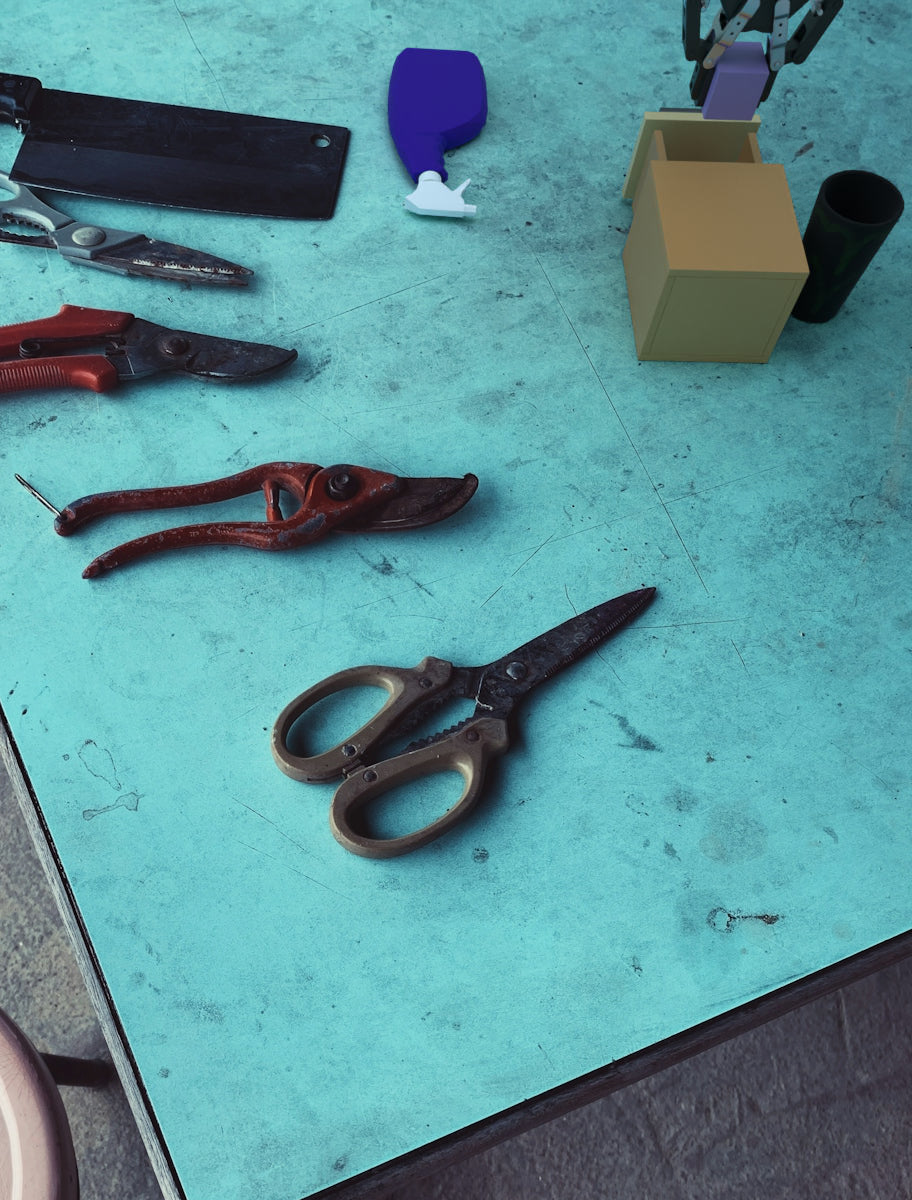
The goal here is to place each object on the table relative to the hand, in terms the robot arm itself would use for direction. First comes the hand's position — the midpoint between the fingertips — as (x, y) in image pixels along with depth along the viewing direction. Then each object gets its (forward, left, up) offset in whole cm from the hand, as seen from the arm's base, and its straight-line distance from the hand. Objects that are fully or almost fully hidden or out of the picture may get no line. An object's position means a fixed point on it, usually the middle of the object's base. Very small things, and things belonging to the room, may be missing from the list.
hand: (725, 101), depth 111 cm
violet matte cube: (0, 0, 0) cm, 0 cm away
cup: (-12, +9, -15) cm, 21 cm away
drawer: (0, -1, -14) cm, 14 cm away
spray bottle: (+25, -13, -15) cm, 32 cm away
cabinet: (0, +10, -14) cm, 18 cm away
